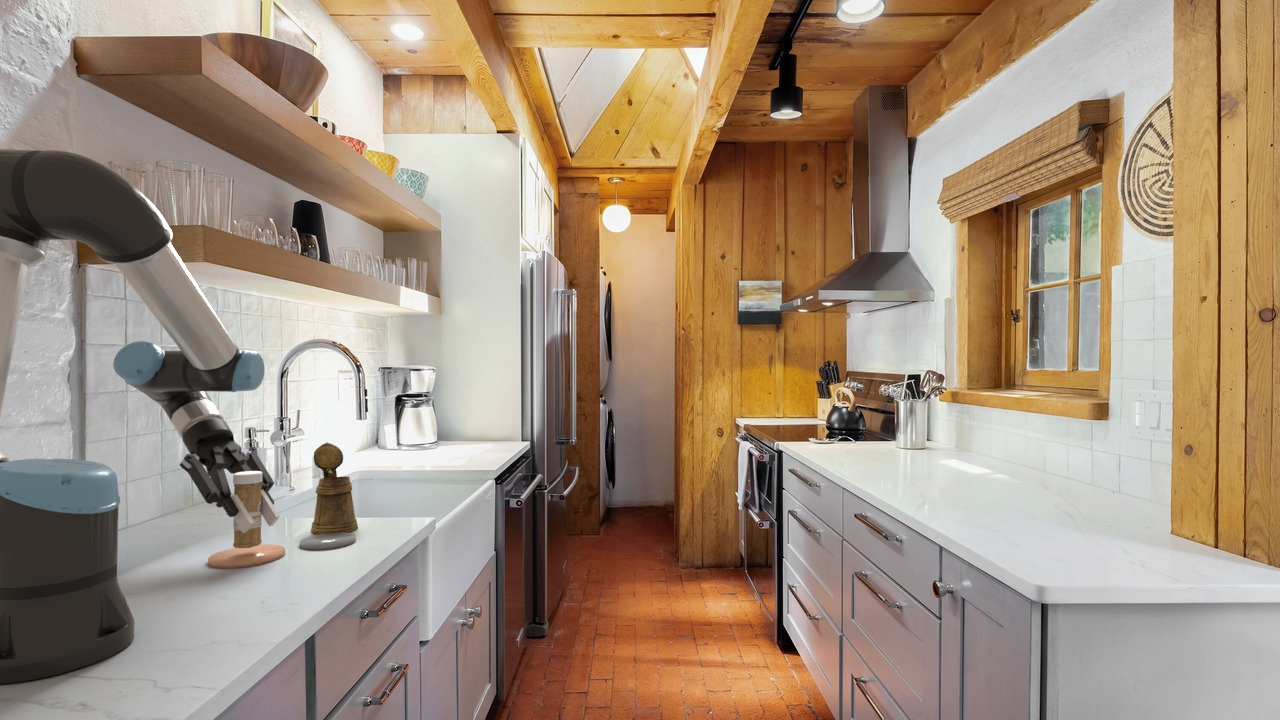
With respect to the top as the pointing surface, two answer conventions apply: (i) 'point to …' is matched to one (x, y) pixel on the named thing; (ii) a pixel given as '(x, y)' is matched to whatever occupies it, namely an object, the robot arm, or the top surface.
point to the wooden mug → (332, 494)
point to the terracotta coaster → (246, 556)
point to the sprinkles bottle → (248, 507)
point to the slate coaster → (327, 541)
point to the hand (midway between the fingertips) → (261, 524)
